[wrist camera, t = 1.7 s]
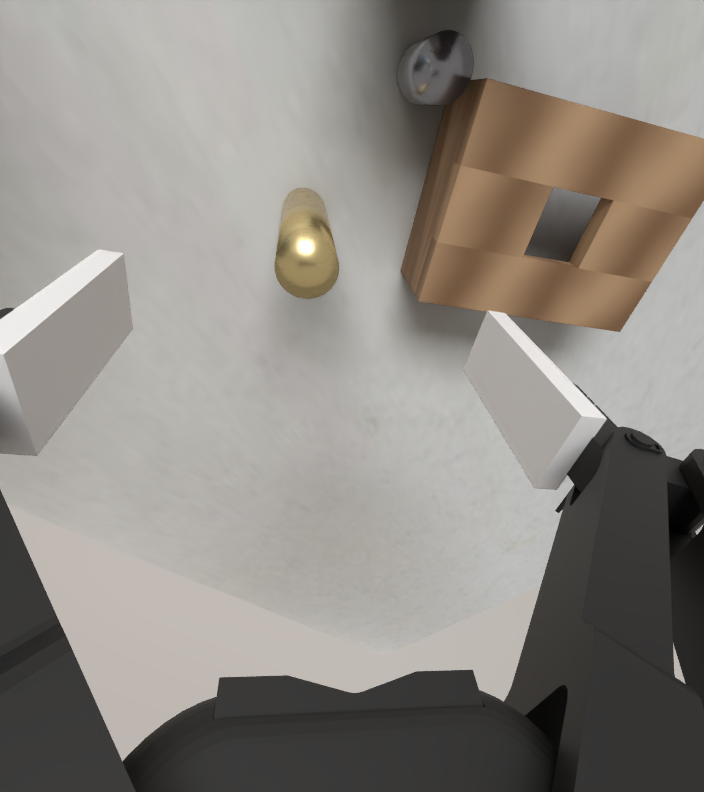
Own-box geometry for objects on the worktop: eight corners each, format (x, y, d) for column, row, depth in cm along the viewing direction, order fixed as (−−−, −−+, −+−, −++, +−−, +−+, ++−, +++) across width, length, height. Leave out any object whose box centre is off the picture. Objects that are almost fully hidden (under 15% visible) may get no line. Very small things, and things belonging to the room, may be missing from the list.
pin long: (280, 229, 29) (272, 293, 20) (285, 183, 27) (277, 229, 18) (321, 236, 30) (332, 302, 20) (328, 192, 28) (344, 241, 18)
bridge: (400, 270, 32) (418, 301, 27) (451, 82, 25) (487, 78, 20) (575, 300, 35) (619, 331, 30) (662, 139, 28) (736, 148, 24)
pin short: (391, 97, 25) (408, 97, 21) (404, 35, 24) (425, 22, 20) (436, 109, 26) (461, 111, 22) (451, 49, 24) (482, 39, 20)
